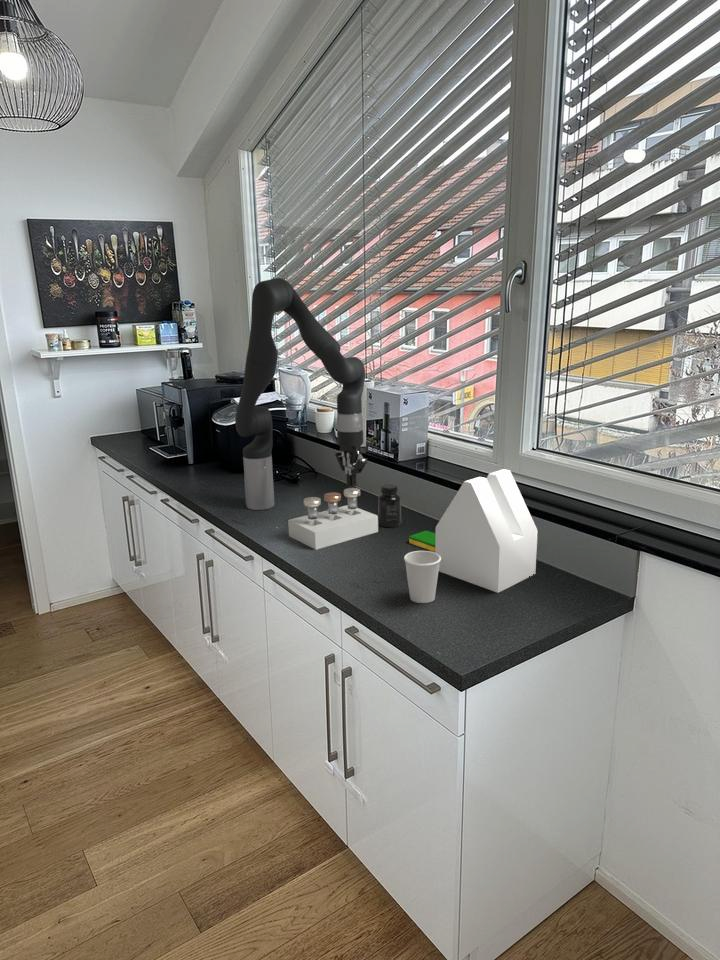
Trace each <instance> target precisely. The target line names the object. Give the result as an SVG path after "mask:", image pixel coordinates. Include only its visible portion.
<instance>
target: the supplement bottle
mask: <svg viewBox="0 0 720 960" xmlns="http://www.w3.org/2000/svg"><path fill="white" fill-rule="evenodd" d="M380 492H381V494H379V496H378V499H377V501H378V502H377V505H378V506H377V507H378V525H379V526H380V527H383V528H396V527H399V526H401V524H402V499H401V498H402V497H401V495H400V494H399V493H398V492H399V491H398V485H396V484H392V483H391V484H390V483H389V484H383V485H381V487H380Z"/></svg>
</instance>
